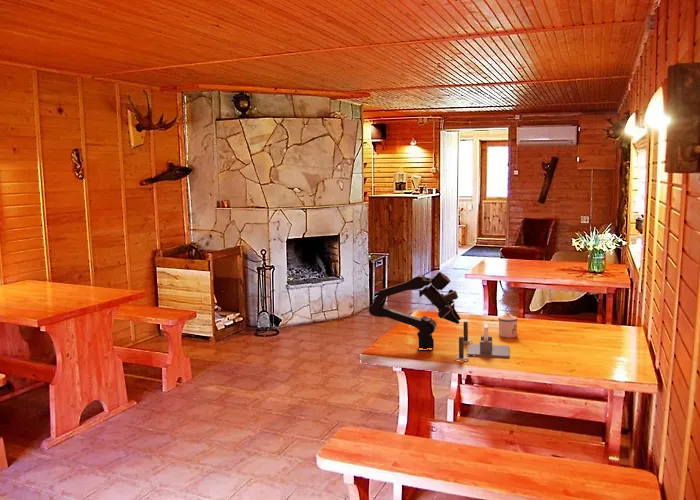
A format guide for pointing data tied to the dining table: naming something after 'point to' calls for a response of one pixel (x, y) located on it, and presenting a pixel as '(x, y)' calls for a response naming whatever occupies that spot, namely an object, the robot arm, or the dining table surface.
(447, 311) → the robot arm
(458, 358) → the post
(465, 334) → the post
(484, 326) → the block
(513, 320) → the teacup with lid
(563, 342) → the dining table surface
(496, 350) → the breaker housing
